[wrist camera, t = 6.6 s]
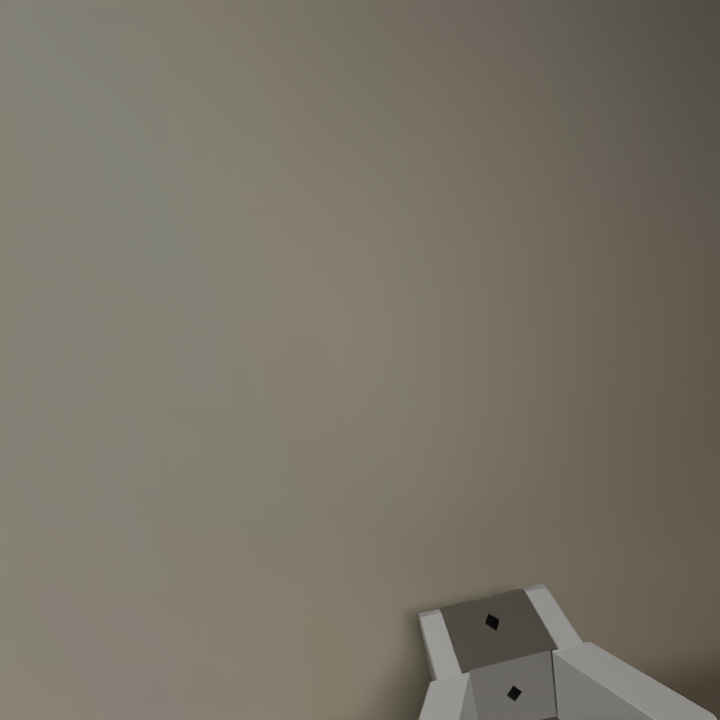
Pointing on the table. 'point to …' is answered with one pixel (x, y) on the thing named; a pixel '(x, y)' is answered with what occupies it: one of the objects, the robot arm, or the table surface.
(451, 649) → the robot arm
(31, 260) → the table surface
